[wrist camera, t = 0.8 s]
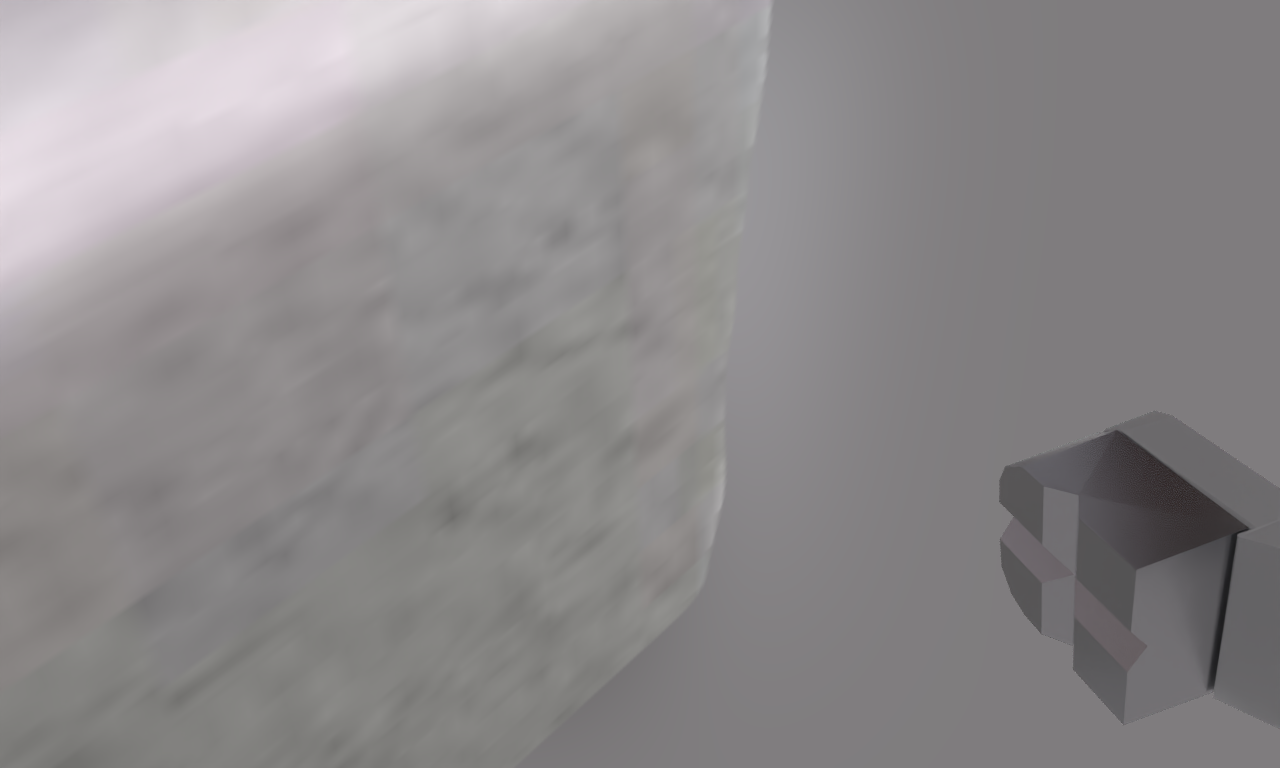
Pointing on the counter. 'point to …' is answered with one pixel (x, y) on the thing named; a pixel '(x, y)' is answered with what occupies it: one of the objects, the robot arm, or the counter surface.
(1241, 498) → the robot arm
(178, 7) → the counter surface
